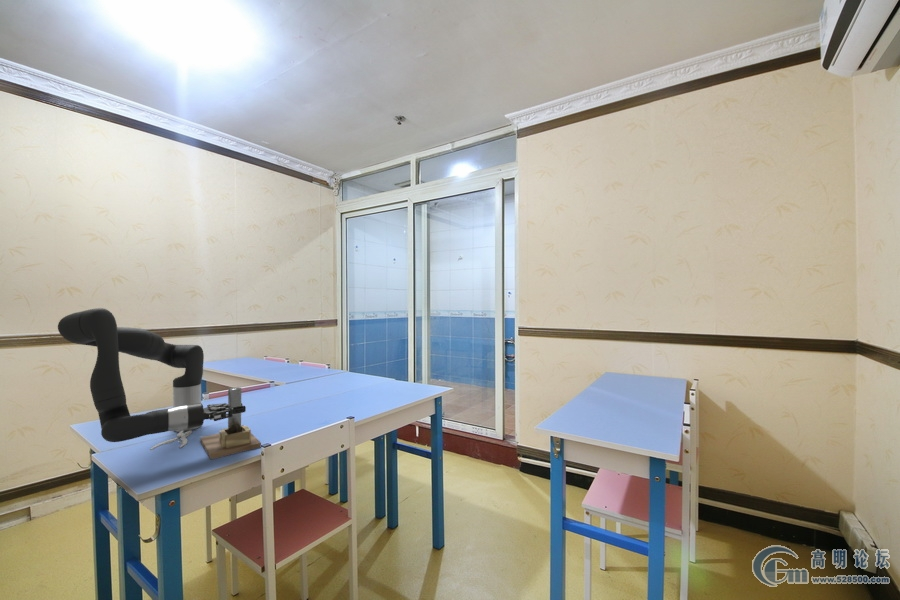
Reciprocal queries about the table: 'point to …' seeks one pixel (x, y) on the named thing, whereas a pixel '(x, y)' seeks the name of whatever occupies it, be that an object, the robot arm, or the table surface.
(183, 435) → the pliers
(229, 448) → the socket board
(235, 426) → the steel pin
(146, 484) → the table surface
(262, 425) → the table surface
